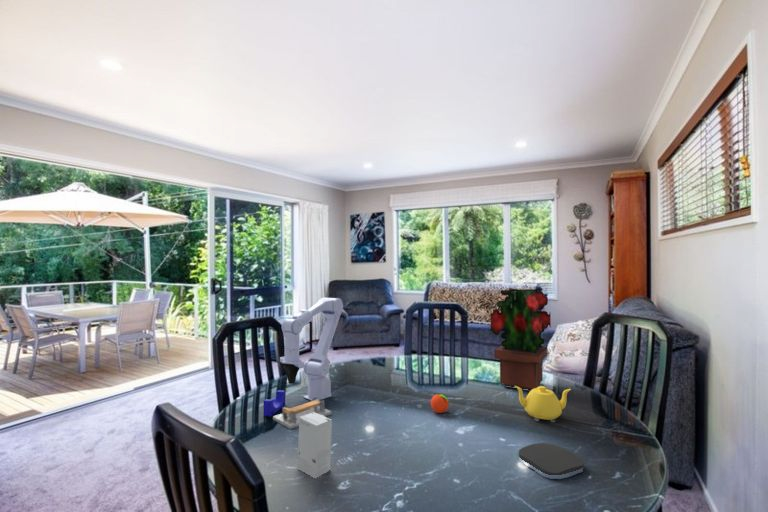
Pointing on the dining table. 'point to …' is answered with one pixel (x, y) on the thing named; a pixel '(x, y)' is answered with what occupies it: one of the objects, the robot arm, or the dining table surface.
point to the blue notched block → (274, 403)
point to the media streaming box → (551, 458)
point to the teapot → (543, 403)
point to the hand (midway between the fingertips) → (291, 383)
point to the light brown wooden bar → (302, 406)
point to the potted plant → (521, 337)
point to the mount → (293, 418)
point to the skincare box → (314, 444)
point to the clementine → (439, 403)
